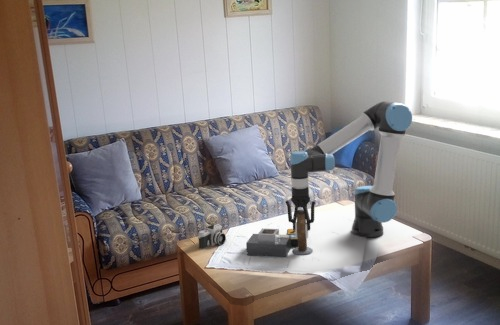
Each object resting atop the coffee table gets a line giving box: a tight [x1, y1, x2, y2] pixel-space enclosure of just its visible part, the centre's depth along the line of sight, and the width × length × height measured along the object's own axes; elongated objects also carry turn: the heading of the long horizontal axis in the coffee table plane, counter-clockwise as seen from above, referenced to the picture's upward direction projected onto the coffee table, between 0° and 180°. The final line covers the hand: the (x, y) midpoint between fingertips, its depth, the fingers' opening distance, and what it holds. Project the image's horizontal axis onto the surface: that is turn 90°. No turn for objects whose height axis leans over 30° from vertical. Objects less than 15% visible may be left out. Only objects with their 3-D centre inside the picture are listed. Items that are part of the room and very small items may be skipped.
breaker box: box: [245, 228, 292, 258], centre depth 241 cm, size 18×12×10 cm, turn 74°
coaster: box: [292, 246, 314, 256], centre depth 239 cm, size 9×9×1 cm
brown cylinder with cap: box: [296, 209, 308, 251], centre depth 237 cm, size 4×4×18 cm
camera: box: [197, 223, 227, 250], centre depth 253 cm, size 16×9×10 cm, turn 143°
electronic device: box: [286, 228, 298, 247], centre depth 253 cm, size 8×16×3 cm, turn 175°
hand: (302, 236), depth 238 cm, fingers closed on brown cylinder with cap, 4 cm apart
